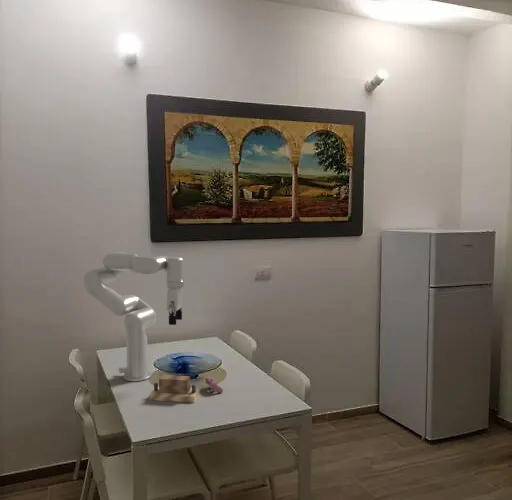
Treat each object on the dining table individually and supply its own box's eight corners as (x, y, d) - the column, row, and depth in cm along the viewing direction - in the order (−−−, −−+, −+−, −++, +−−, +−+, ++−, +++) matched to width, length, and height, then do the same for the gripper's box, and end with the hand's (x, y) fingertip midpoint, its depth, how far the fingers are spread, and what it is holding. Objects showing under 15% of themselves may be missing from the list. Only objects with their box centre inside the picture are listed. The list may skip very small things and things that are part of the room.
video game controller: (208, 389, 215) (201, 377, 213) (217, 384, 216) (210, 371, 215) (215, 397, 206) (208, 384, 204) (224, 392, 207) (217, 378, 205)
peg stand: (149, 400, 199) (149, 387, 198) (156, 391, 208) (156, 379, 207) (194, 402, 197) (194, 389, 196) (199, 393, 206) (199, 381, 205)
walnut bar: (159, 392, 201) (158, 378, 200) (163, 388, 205) (162, 374, 205) (186, 394, 199) (186, 380, 198) (190, 389, 204) (190, 376, 203)
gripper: (172, 281, 224) (172, 317, 225) (161, 287, 206) (161, 326, 208) (188, 281, 223) (188, 317, 224) (178, 288, 206) (178, 327, 207)
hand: (175, 322), depth 216 cm, fingers open, 9 cm apart
